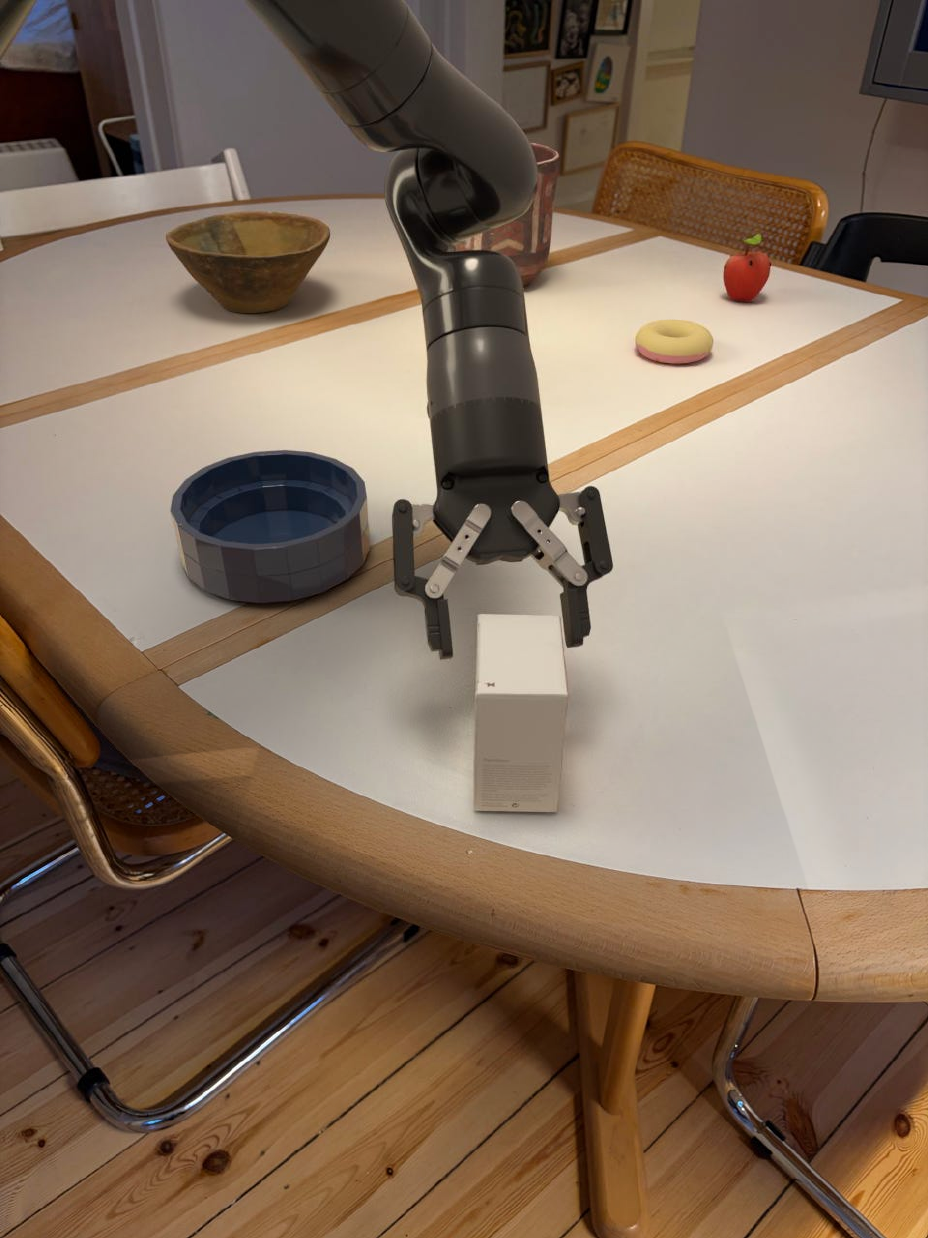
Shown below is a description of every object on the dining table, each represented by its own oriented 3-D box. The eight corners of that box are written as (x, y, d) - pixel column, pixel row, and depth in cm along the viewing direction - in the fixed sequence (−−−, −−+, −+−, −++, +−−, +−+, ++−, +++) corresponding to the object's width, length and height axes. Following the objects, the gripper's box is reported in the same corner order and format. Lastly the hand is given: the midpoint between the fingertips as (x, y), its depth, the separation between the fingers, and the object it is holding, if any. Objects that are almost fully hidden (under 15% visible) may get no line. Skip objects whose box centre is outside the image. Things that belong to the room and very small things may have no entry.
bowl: (293, 268, 148) (287, 200, 142) (360, 312, 133) (356, 239, 126) (157, 292, 138) (144, 221, 132) (212, 342, 123) (200, 265, 117)
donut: (715, 378, 121) (688, 341, 127) (728, 346, 118) (701, 310, 124) (645, 373, 118) (622, 335, 124) (657, 340, 115) (633, 303, 121)
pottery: (490, 253, 155) (494, 133, 143) (573, 279, 145) (583, 152, 134) (412, 278, 144) (409, 150, 133) (496, 307, 135) (500, 172, 124)
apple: (709, 293, 141) (721, 223, 134) (750, 289, 142) (763, 220, 136) (733, 310, 135) (747, 239, 129) (776, 307, 136) (791, 235, 130)
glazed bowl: (175, 616, 77) (162, 556, 73) (190, 511, 90) (179, 456, 86) (376, 599, 79) (373, 540, 75) (362, 499, 92) (359, 444, 88)
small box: (557, 815, 61) (570, 697, 54) (471, 813, 61) (474, 694, 54) (551, 728, 67) (562, 613, 61) (473, 726, 67) (476, 611, 61)
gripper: (380, 399, 58) (406, 658, 56) (602, 386, 60) (634, 636, 58) (377, 437, 65) (399, 667, 63) (575, 424, 67) (602, 648, 65)
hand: (511, 652), depth 61 cm, fingers open, 8 cm apart
